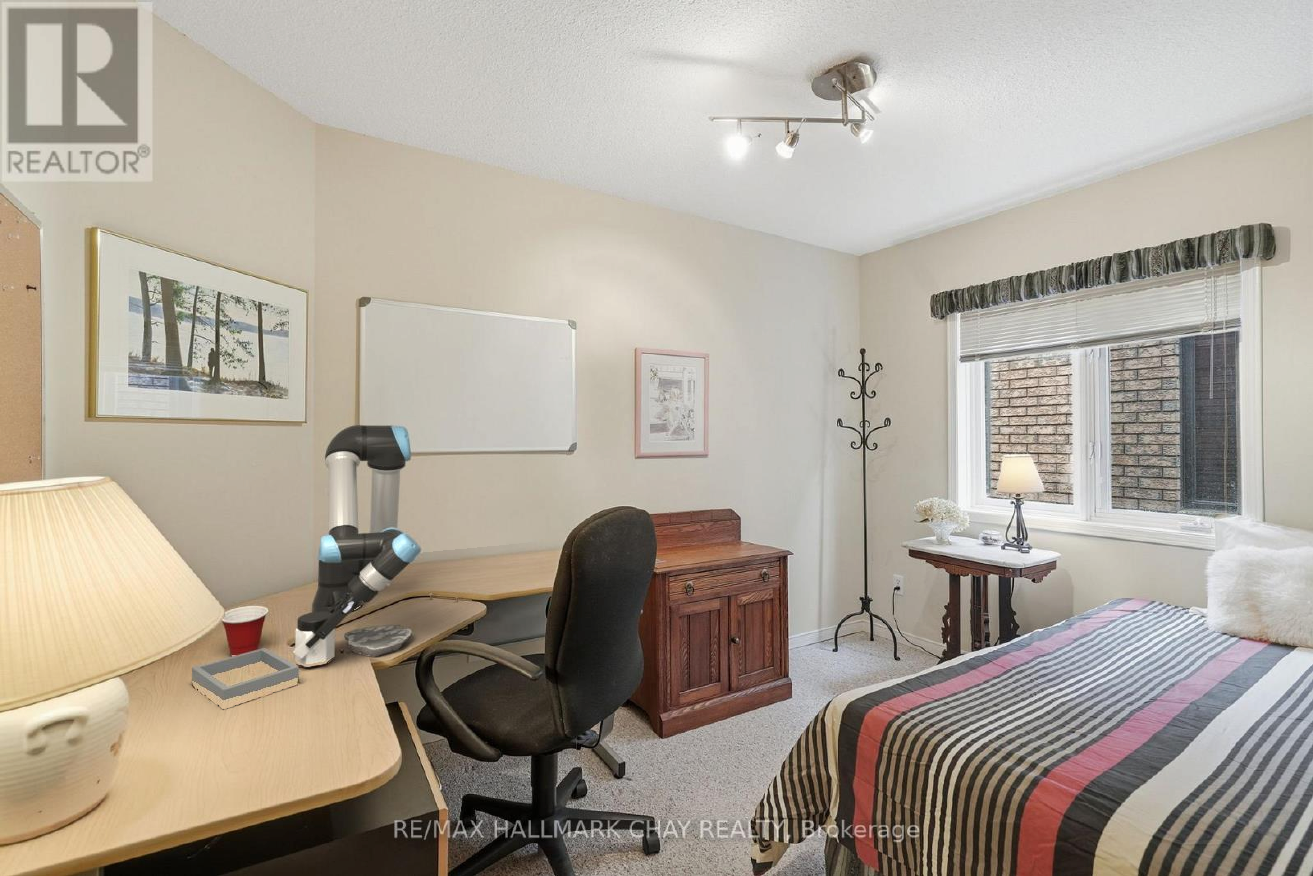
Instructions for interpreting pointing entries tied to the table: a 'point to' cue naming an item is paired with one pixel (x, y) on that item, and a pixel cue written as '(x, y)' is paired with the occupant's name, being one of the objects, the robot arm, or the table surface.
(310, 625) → the jar
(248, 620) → the plastic cup
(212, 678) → the bin
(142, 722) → the table surface
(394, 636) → the grey stone slab
